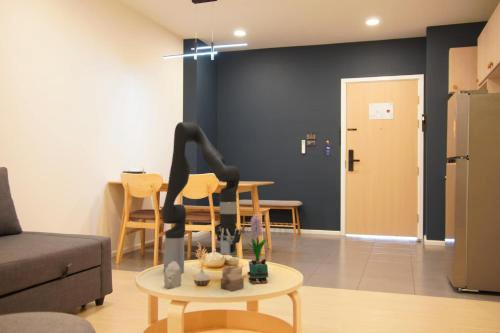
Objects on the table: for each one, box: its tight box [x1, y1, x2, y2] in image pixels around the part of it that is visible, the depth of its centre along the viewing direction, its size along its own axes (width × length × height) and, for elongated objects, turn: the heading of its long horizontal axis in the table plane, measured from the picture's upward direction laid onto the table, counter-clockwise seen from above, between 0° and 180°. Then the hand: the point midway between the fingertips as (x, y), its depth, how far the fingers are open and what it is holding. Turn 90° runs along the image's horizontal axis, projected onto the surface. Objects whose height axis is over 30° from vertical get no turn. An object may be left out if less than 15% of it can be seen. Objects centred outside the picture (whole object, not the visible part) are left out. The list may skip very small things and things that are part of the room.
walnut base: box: [220, 277, 245, 292], centre depth 189 cm, size 7×7×4 cm
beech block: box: [221, 265, 243, 281], centre depth 189 cm, size 6×6×4 cm
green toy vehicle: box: [247, 258, 269, 285], centre depth 200 cm, size 9×10×10 cm
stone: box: [163, 261, 182, 290], centre depth 191 cm, size 9×5×10 cm, turn 151°
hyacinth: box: [246, 213, 267, 280], centre depth 208 cm, size 9×10×30 cm
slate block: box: [220, 238, 235, 256], centre depth 188 cm, size 4×4×6 cm
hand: (228, 251), depth 188 cm, fingers closed on slate block, 4 cm apart
